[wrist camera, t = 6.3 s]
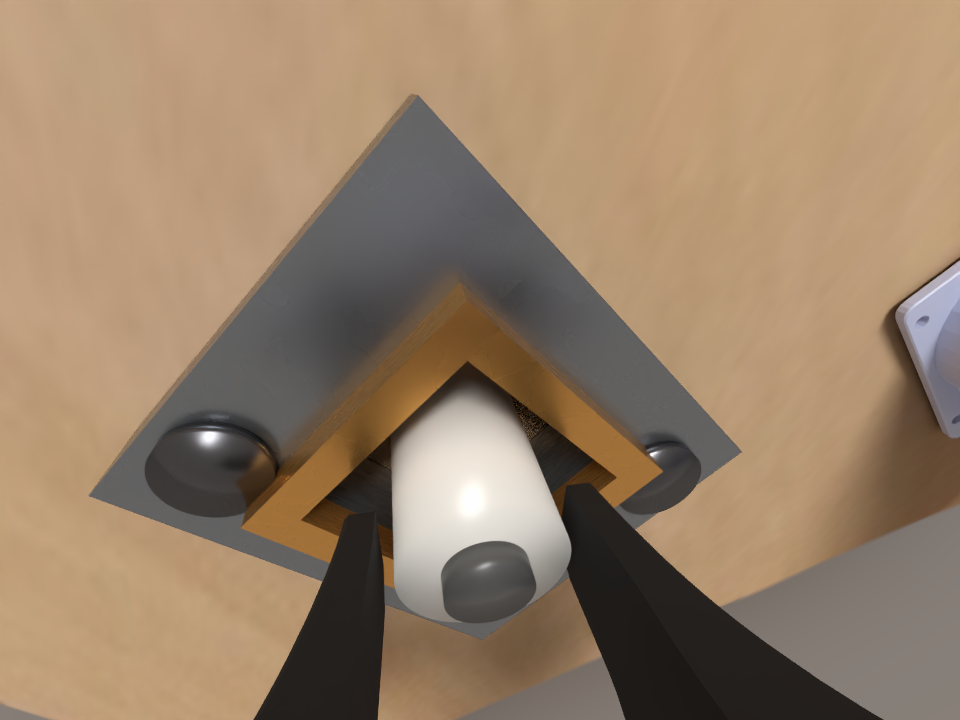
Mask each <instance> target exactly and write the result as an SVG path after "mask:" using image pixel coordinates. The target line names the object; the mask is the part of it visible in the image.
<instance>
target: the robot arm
mask: <svg viewBox="0 0 960 720" xmlns="http://www.w3.org/2000/svg"><path fill="white" fill-rule="evenodd" d="M895 318H896V322H897V324H898V326H899V329H900V331H901V334H902V336H903V338H904V341H905V343H906V346H907V348H908V350H909V353H910V355H911V358H912V360H913V362H914V365H915V367H916V370H917V372H918V375H919V377H920V379H921V382H922V384H923V387H924V389H925V391H926V394H927V396H928V399H929V401H930V403H931V406H932V408H933V411H934V413H935V415H936V418H937V420H938V423H939V425H940V427H941V430H942V432H943V433H944V434H946V435H947V436H949V437H950V438H958V437H960V260H959V261H958V262H957V263H955V264H954V265H953V266H951V267H950V268H949V269H947V270H946V271H945V272H943V273H942V274H941V275H939V276H938V277H937V278H935V279H934V280H933V281H931V282H930V283H929V284H927V285H926V286H924V287H923V288H922V289H920V290H919V291H918V292H916V293H915V294H914V295H912V296H911V297H910V298H908V299H907V300H906V301H904V302H903V303H902V304H901V305H900V306H899V308H898V309H897V311H896V314H895ZM561 519H562V522H563V524H564V527H565V529H566V532H567V534H568V536H569V539H570V543H571V557H570V561H569V564H568V566H567V571H568V574H569V577H570V580H571V583H572V585H573V588H574V590H575V593H576V595H577V598H578V600H579V602H580V605H581V607H582V610H583V612H584V614H585V617H586V619H587V621H588V624H589V626H590V629H591V631H592V633H593V636H594V638H595V640H596V643H597V645H598V648H599V650H600V652H601V655H602V657H603V659H604V662H605V664H606V667H607V669H608V671H609V674H610V676H611V679H612V682H613V684H614V687H615V690H616V692H617V695H618V698H619V701H620V704H621V707H622V710H623V714H624V717H625V719H626V720H883V719H881V718H879V717H878V716H876V715H874V714H873V713H871V712H869V711H868V710H866V709H865V708H862V707H861V706H860V705H858V704H857V703H855V702H853V701H852V700H850V699H849V698H847V697H846V696H844V695H842V694H841V693H839V692H838V691H836V690H834V689H833V688H831V687H830V686H828V685H827V684H825V683H823V682H822V681H820V680H819V679H817V678H816V677H814V676H813V675H812V674H810V673H809V672H807V671H806V670H804V669H803V668H801V667H800V666H799V665H797V664H796V663H794V662H793V661H791V660H790V659H789V658H787V657H786V656H784V655H783V654H781V653H780V652H778V651H777V650H776V649H774V648H773V647H771V646H770V645H768V644H767V643H766V642H764V641H763V640H761V639H760V638H759V637H758V636H756V635H755V634H753V633H752V632H751V631H750V630H748V629H747V628H746V627H744V626H743V625H742V624H740V623H739V622H738V621H736V620H735V619H734V618H733V617H731V616H730V615H729V614H728V613H726V612H725V611H724V610H722V609H721V608H720V607H719V606H718V605H716V604H715V603H714V602H713V601H712V600H710V599H709V598H708V597H707V596H706V595H704V594H703V593H702V592H701V591H700V590H699V589H697V588H696V587H695V586H694V585H693V584H692V583H691V582H690V581H688V580H687V579H686V578H685V577H684V576H683V575H682V574H681V573H679V572H678V571H677V570H676V569H675V568H674V567H673V566H672V565H671V564H670V563H669V562H667V561H666V560H665V559H664V558H663V557H662V556H661V555H660V554H659V553H658V552H657V551H656V550H655V549H654V548H653V547H652V546H651V545H650V544H649V543H648V542H647V541H646V540H645V539H644V538H643V537H642V536H641V535H640V534H639V533H638V532H637V531H636V530H635V529H634V528H633V527H632V526H631V525H630V524H629V523H628V522H627V521H626V520H625V519H624V518H623V517H622V516H621V515H620V514H619V513H618V512H617V511H616V510H615V509H614V508H613V507H612V505H611V504H610V503H609V502H608V501H607V500H606V499H605V498H604V497H603V496H602V495H601V494H600V493H599V492H598V491H597V489H596V488H595V487H594V486H593V485H592V484H591V483H581V484H574V485H566V491H565V498H564V504H563V511H562V517H561ZM384 617H385V592H384V564H383V558H382V551H381V545H380V539H379V532H378V526H377V520H376V514H375V511H373V512H366V513H358V514H351V515H348V516H347V517H346V518H345V519H344V522H343V526H342V529H341V533H340V536H339V539H338V542H337V545H336V548H335V551H334V554H333V556H332V559H331V562H330V564H329V567H328V569H327V572H326V575H325V577H324V579H323V582H322V584H321V586H320V589H319V591H318V594H317V596H316V598H315V601H314V603H313V605H312V608H311V610H310V612H309V614H308V616H307V619H306V621H305V623H304V625H303V627H302V629H301V631H300V633H299V635H298V637H297V639H296V641H295V643H294V645H293V647H292V650H291V652H290V654H289V656H288V658H287V660H286V662H285V663H284V665H283V667H282V669H281V671H280V673H279V675H278V677H277V679H276V681H275V682H274V684H273V686H272V688H271V690H270V692H269V693H268V695H267V697H266V699H265V700H264V702H263V704H262V706H261V708H260V709H259V711H258V713H257V715H256V716H255V718H254V720H378V706H379V691H380V677H381V662H382V648H383V633H384Z"/></svg>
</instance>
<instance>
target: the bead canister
mask: <svg viewBox="0 0 960 720" xmlns="http://www.w3.org/2000/svg"><path fill="white" fill-rule="evenodd" d="M391 473H392V515H393V557H394V586H395V590H396V593H397V595H398V597H399V599H400V600H401V601H402V603H403V604H404V605H405V606H407V607H408V608H409V609H410V610H412V611H413V612H415V613H417V614H419V615H421V616H423V617H426V618H429V619H433V620H438V621H444V622H465V623H476V624H478V623H488V622H493V621H497V620H501V619H503V618H506V617H508V616H511V615H513V614H514V613H516V612H518V611H519V610H521V609H522V608H523V607H525V606H526V605H528V604H530V603H532V602H534V601H535V600H537V599H538V598H540V597H541V596H542V595H544V594H545V593H546V592H548V591H549V590H550V589H551V588H552V587H553V586H554V585H555V584H556V583H557V582H558V581H559V579H560V578H561V577H562V575H563V574H564V572H565V570H566V568H567V566H568V564H569V561H570V557H571V543H570V539H569V536H568V534H567V532H566V529H565V527H564V524H563V522H562V519H561V517H560V515H559V512H558V510H557V507H556V505H555V502H554V500H553V498H552V495H551V493H550V490H549V488H548V486H547V483H546V481H545V478H544V476H543V473H542V471H541V469H540V466H539V464H538V461H537V459H536V456H535V454H534V452H533V449H532V447H531V444H530V442H529V440H528V437H527V435H526V432H525V430H524V427H523V425H522V423H521V420H520V418H519V415H518V413H517V410H516V408H515V406H514V403H513V401H512V398H511V396H510V394H509V393H508V392H507V391H506V390H504V389H503V388H502V387H500V386H499V385H498V384H497V383H495V382H494V381H493V380H492V379H490V378H489V377H488V376H486V375H485V374H484V373H483V372H481V371H480V370H479V369H477V368H476V367H475V366H474V365H472V364H471V363H470V362H468V361H467V362H466V363H465V364H464V365H463V366H462V367H461V368H459V369H458V370H457V371H456V372H455V373H454V374H453V375H452V376H451V377H450V378H449V379H448V380H447V381H446V382H445V383H444V384H443V385H442V386H441V387H440V388H439V389H437V390H436V391H435V392H434V393H433V394H432V395H431V396H430V397H429V398H428V399H427V400H426V401H425V402H424V403H423V404H422V405H421V406H420V407H419V408H418V409H417V410H415V411H414V412H413V413H412V414H411V415H410V416H409V417H408V418H407V419H406V420H405V421H404V422H403V423H402V424H401V425H400V426H399V427H398V428H397V429H396V430H395V431H393V432H392V433H391Z"/></svg>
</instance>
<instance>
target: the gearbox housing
mask: <svg viewBox="0 0 960 720" xmlns="http://www.w3.org/2000/svg"><path fill="white" fill-rule="evenodd" d="M467 361H468V362H470V363H471V364H472V365H474V366H475V367H476V368H477V369H479V370H480V371H481V372H483V373H484V374H485V375H486V376H488V377H489V378H490V379H492V380H493V381H494V382H495V383H497V384H498V385H499V386H500V387H502V388H503V389H504V390H506V391H507V392H508V393H509V394H511V395H512V396H513V397H515V398H516V399H517V400H518V401H520V402H521V403H522V404H524V405H525V406H526V407H527V408H529V409H530V410H531V411H533V412H534V413H535V414H536V415H538V416H539V417H540V418H541V419H543V420H544V421H545V422H547V423H548V424H549V425H548V426H547V427H545V428H544V429H543V430H542V431H541V432H539V433H538V434H537V435H536V436H535V437H534V438H532V439H531V440H530V441H529V442H530V444H531V447H532V449H533V452H534V454H535V456H536V459H537V461H538V464H539V466H540V469H541V471H542V473H543V476H544V478H545V481H546V483H547V486H548V488H549V490H550V493H551V495H552V498H553V500H554V502H555V505H556V507H557V510H558V512H559V515H560V517H562V511H563V504H564V498H565V491H566V485H574V484H581V483H591V484H592V485H593V486H594V487H595V488H596V489H597V491H598V492H599V493H600V494H601V495H602V496H603V497H604V498H605V499H606V500H607V501H608V502H609V503H610V504H611V505H612V507H613V508H614V509H615V510H616V511H617V512H618V513H619V514H620V515H621V516H622V517H623V518H624V519H625V520H626V521H627V522H628V523H629V524H630V525H631V526H632V527H633V528H634V529H636V528H638V527H639V526H640V525H642V524H643V523H645V522H646V521H647V520H649V519H650V518H651V517H653V516H654V515H656V514H657V513H658V512H661V511H664V510H666V509H669V508H671V507H673V506H674V505H676V504H678V503H679V502H681V501H682V500H683V499H684V498H686V497H687V496H688V495H689V494H690V493H691V492H692V491H693V489H694V488H695V487H696V485H697V484H698V483H700V482H701V481H703V480H704V479H705V478H707V477H708V476H709V475H711V474H712V473H714V472H715V471H716V470H718V469H719V468H721V467H722V466H723V465H725V464H726V463H727V462H729V461H730V460H732V459H733V458H734V457H736V456H737V455H739V454H740V453H741V452H742V451H741V450H740V449H739V448H738V447H737V446H736V445H735V443H734V442H733V441H732V440H731V439H730V438H729V437H728V436H727V435H726V434H725V432H724V431H723V430H722V429H721V428H720V427H719V426H718V425H717V424H716V423H715V421H714V420H713V419H712V418H711V417H710V416H709V415H708V414H707V413H706V412H705V410H704V409H703V408H702V407H701V406H700V405H699V404H698V403H697V402H696V400H695V399H694V398H693V397H692V396H691V395H690V394H689V393H688V392H687V391H686V389H685V388H684V387H683V386H682V385H681V384H680V383H679V382H678V381H677V380H676V378H675V377H674V376H673V375H672V374H671V373H670V372H669V371H668V370H667V369H666V367H665V366H664V365H663V364H662V363H661V362H660V361H659V360H658V359H657V358H656V356H655V355H654V354H653V353H652V352H651V351H650V350H649V349H648V348H647V347H646V345H645V344H644V343H643V342H642V341H641V340H640V339H639V338H638V337H637V336H636V334H635V333H634V332H633V331H632V330H631V329H630V328H629V327H628V326H627V325H626V323H625V322H624V321H623V320H622V319H621V318H620V317H619V316H618V315H617V314H616V312H615V311H614V310H613V309H612V308H611V307H610V306H609V305H608V304H607V303H606V301H605V300H604V299H603V298H602V297H601V296H600V295H599V294H598V293H597V292H596V290H595V289H594V288H593V287H592V286H591V285H590V284H589V283H588V282H587V281H586V279H585V278H584V277H583V276H582V275H581V274H580V273H579V272H578V271H577V269H576V268H575V267H574V266H573V265H572V264H571V263H570V262H569V261H568V260H567V258H566V257H565V256H564V255H563V254H562V253H561V252H560V251H559V250H558V249H557V247H556V246H555V245H554V244H553V243H552V242H551V241H550V240H549V239H548V238H547V236H546V235H545V234H544V233H543V232H542V231H541V230H540V229H539V228H538V227H537V225H536V224H535V223H534V222H533V221H532V220H531V219H530V218H529V217H528V216H527V214H526V213H525V212H524V211H523V210H522V209H521V208H520V207H519V206H518V205H517V203H516V202H515V201H514V200H513V199H512V198H511V197H510V196H509V195H508V194H507V192H506V191H505V190H504V189H503V188H502V187H501V186H500V185H499V184H498V183H497V181H496V180H495V179H494V178H493V177H492V176H491V175H490V174H489V173H488V172H487V170H486V169H485V168H484V167H483V166H482V165H481V164H480V163H479V162H478V161H477V159H476V158H475V157H474V156H473V155H472V154H471V153H470V152H469V151H468V149H467V148H466V147H465V146H464V145H463V144H462V143H461V142H460V141H459V140H458V138H457V137H456V136H455V135H454V134H453V133H452V132H451V131H450V130H449V129H448V127H447V126H446V125H445V124H444V123H443V122H442V121H441V120H440V119H439V118H438V116H437V115H436V114H435V113H434V112H433V111H432V110H431V109H430V108H429V107H428V105H427V104H426V103H425V102H424V101H423V100H422V99H421V98H420V97H419V96H418V95H413V94H411V95H410V96H409V97H408V99H407V100H406V101H405V102H404V103H403V105H402V106H401V107H400V108H399V110H398V111H397V112H396V113H395V114H394V116H393V117H392V118H391V119H390V121H389V122H388V123H387V124H386V125H385V127H384V128H383V129H382V130H381V132H380V133H379V134H378V135H377V136H376V138H375V139H374V140H373V141H372V143H371V144H370V145H369V146H368V147H367V149H366V150H365V151H364V152H363V154H362V155H361V156H360V157H359V158H358V160H357V161H356V162H355V163H354V165H353V166H352V167H351V168H350V169H349V171H348V172H347V173H346V174H345V176H344V177H343V178H342V179H341V180H340V182H339V183H338V184H337V185H336V187H335V188H334V189H333V190H332V191H331V193H330V194H329V195H328V196H327V198H326V199H325V200H324V201H323V202H322V204H321V205H320V206H319V207H318V209H317V210H316V211H315V212H314V213H313V215H312V216H311V217H310V218H309V220H308V221H307V222H306V223H305V224H304V226H303V227H302V228H301V229H300V231H299V232H298V233H297V234H296V235H295V237H294V238H293V239H292V240H291V242H290V243H289V244H288V245H287V246H286V248H285V249H284V250H283V251H282V253H281V254H280V255H279V256H278V257H277V259H276V260H275V261H274V262H273V264H272V265H271V266H270V267H269V268H268V270H267V271H266V272H265V273H264V275H263V276H262V277H261V278H260V279H259V281H258V282H257V283H256V284H255V286H254V287H253V288H252V289H251V290H250V292H249V293H248V294H247V295H246V297H245V298H244V299H243V300H242V301H241V303H240V304H239V305H238V306H237V308H236V309H235V310H234V311H233V312H232V314H231V315H230V316H229V317H228V319H227V320H226V321H225V322H224V323H223V325H222V326H221V327H220V328H219V330H218V331H217V332H216V333H215V334H214V336H213V337H212V338H211V339H210V341H209V342H208V343H207V344H206V346H205V347H204V348H203V349H202V350H201V352H200V353H199V354H198V355H197V357H196V358H195V359H194V360H193V361H192V363H191V364H190V365H189V366H188V368H187V369H186V370H185V371H184V372H183V374H182V375H181V376H180V377H179V379H178V380H177V381H176V382H175V383H174V385H173V386H172V387H171V388H170V390H169V391H168V392H167V393H166V394H165V396H164V397H163V398H162V399H161V401H160V402H159V403H158V404H157V405H156V407H155V408H154V409H153V410H152V412H151V413H150V414H149V415H148V416H147V418H146V419H145V420H144V421H143V423H142V424H141V425H140V426H139V427H138V429H137V430H136V431H135V433H134V434H133V435H132V437H131V438H130V439H129V441H128V442H127V444H126V445H125V446H124V448H123V449H122V450H121V452H120V453H119V455H118V456H117V457H116V459H115V460H114V461H113V463H112V464H111V466H110V467H109V468H108V470H107V471H106V472H105V474H104V475H103V477H102V478H101V479H100V481H99V482H98V483H97V485H96V486H95V488H94V489H93V490H92V492H91V493H90V494H89V496H90V497H93V498H96V499H98V500H101V501H104V502H107V503H109V504H112V505H115V506H118V507H120V508H123V509H126V510H128V511H131V512H134V513H137V514H139V515H142V516H145V517H148V518H150V519H153V520H156V521H159V522H161V523H164V524H167V525H170V526H172V527H175V528H178V529H180V530H183V531H186V532H189V533H191V534H194V535H197V536H200V537H202V538H205V539H208V540H211V541H213V542H216V543H219V544H222V545H224V546H227V547H230V548H232V549H235V550H238V551H241V552H243V553H246V554H249V555H252V556H254V557H257V558H260V559H263V560H265V561H268V562H271V563H274V564H276V565H279V566H282V567H284V568H287V569H290V570H293V571H295V572H298V573H301V574H304V575H306V576H309V577H312V578H315V579H317V580H320V581H323V579H324V577H325V575H326V572H327V569H328V567H329V564H330V562H331V559H332V556H333V554H334V551H335V548H336V545H337V542H338V539H339V536H340V533H341V529H342V526H343V522H344V519H345V518H346V517H347V516H348V515H351V514H358V513H366V512H373V511H375V514H376V520H377V526H378V532H379V539H380V545H381V551H382V558H383V564H384V592H385V604H386V605H388V606H391V607H394V608H397V609H399V610H402V611H405V612H408V613H410V614H413V615H416V616H419V617H421V618H424V619H427V620H429V621H432V622H435V623H438V624H440V625H443V626H446V627H449V628H451V629H454V630H457V631H460V632H462V633H465V634H468V635H471V636H473V637H476V638H479V639H481V640H483V639H484V638H486V637H487V636H488V635H490V634H491V633H492V632H494V631H495V630H497V629H498V628H499V627H501V626H502V625H503V624H505V623H506V622H508V621H509V620H510V619H512V618H513V617H515V616H516V615H517V614H519V613H520V612H521V611H523V610H524V609H526V608H527V607H528V606H530V605H531V604H533V603H534V602H535V601H537V600H538V599H539V598H538V599H537V600H535V601H534V602H532V603H530V604H528V605H526V606H525V607H523V608H522V609H521V610H519V611H518V612H516V613H514V614H513V615H511V616H508V617H506V618H503V619H501V620H497V621H493V622H488V623H478V624H476V623H465V622H444V621H438V620H433V619H429V618H426V617H423V616H421V615H419V614H417V613H415V612H413V611H412V610H410V609H409V608H408V607H407V606H405V605H404V604H403V603H402V601H401V600H400V599H399V597H398V595H397V593H396V590H395V586H394V557H393V515H392V473H391V471H390V470H389V469H387V468H385V467H383V466H381V465H380V464H378V463H376V462H374V461H372V460H370V459H369V458H367V456H368V455H369V454H370V453H371V452H373V451H374V450H375V449H376V448H377V447H378V446H379V445H380V444H381V443H382V442H383V441H384V440H385V439H386V438H387V437H388V436H389V435H390V434H391V433H392V432H393V431H395V430H396V429H397V428H398V427H399V426H400V425H401V424H402V423H403V422H404V421H405V420H406V419H407V418H408V417H409V416H410V415H411V414H412V413H413V412H414V411H415V410H417V409H418V408H419V407H420V406H421V405H422V404H423V403H424V402H425V401H426V400H427V399H428V398H429V397H430V396H431V395H432V394H433V393H434V392H435V391H436V390H437V389H439V388H440V387H441V386H442V385H443V384H444V383H445V382H446V381H447V380H448V379H449V378H450V377H451V376H452V375H453V374H454V373H455V372H456V371H457V370H458V369H459V368H461V367H462V366H463V365H464V364H465V363H466V362H467ZM568 577H569V574H568V571H567V568H566V570H565V572H564V574H563V575H562V577H561V578H560V579H559V581H558V582H557V583H556V584H555V585H554V586H553V587H552V588H551V589H550V590H552V589H553V588H555V587H556V586H557V585H559V584H560V583H562V582H563V581H564V580H566V579H567V578H568ZM550 590H549V591H550ZM549 591H548V592H549ZM548 592H546V593H548ZM546 593H545V594H546ZM545 594H544V595H545ZM544 595H542V596H544ZM542 596H541V597H542ZM541 597H540V598H541Z"/></svg>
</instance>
